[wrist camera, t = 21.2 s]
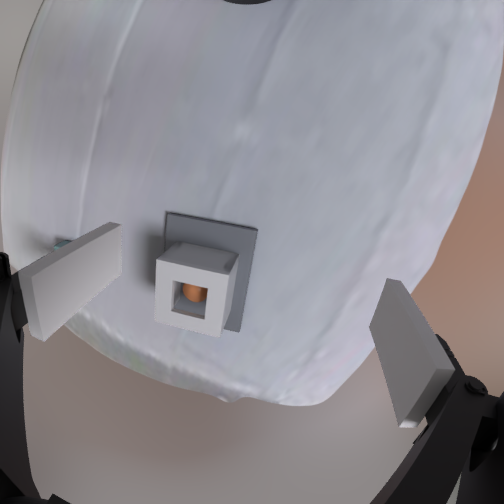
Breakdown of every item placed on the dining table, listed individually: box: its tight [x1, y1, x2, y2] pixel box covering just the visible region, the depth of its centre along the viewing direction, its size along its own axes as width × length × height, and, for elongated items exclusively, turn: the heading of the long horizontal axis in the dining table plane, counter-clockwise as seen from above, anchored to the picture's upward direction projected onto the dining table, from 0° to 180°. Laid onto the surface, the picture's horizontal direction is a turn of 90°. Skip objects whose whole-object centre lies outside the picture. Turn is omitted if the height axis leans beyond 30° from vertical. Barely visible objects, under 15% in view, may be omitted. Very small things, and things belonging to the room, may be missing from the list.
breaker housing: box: [155, 213, 258, 338], centre depth 46 cm, size 18×14×9 cm
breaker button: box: [183, 283, 208, 302], centre depth 47 cm, size 4×4×4 cm
